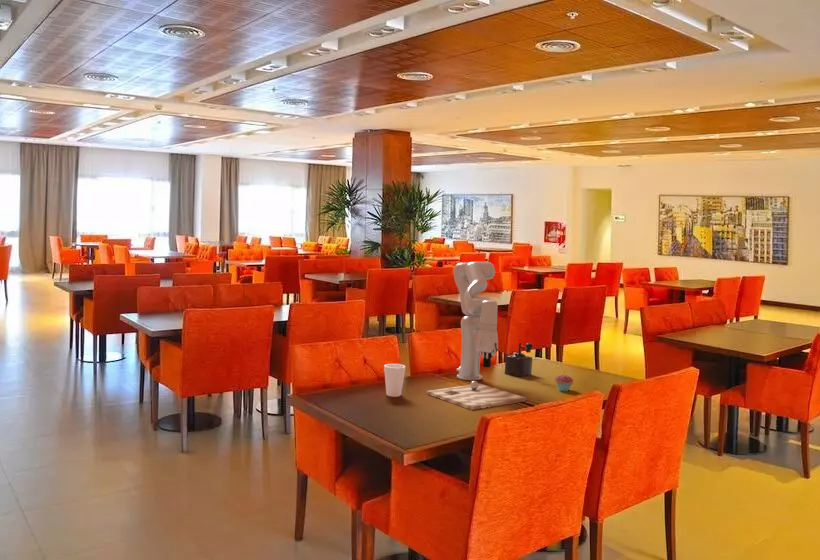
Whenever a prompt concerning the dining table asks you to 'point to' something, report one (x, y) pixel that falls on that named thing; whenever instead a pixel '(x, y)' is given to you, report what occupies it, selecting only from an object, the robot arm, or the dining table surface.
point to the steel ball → (474, 385)
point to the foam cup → (394, 379)
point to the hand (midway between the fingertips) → (486, 366)
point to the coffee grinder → (519, 362)
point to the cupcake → (564, 382)
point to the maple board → (476, 396)
